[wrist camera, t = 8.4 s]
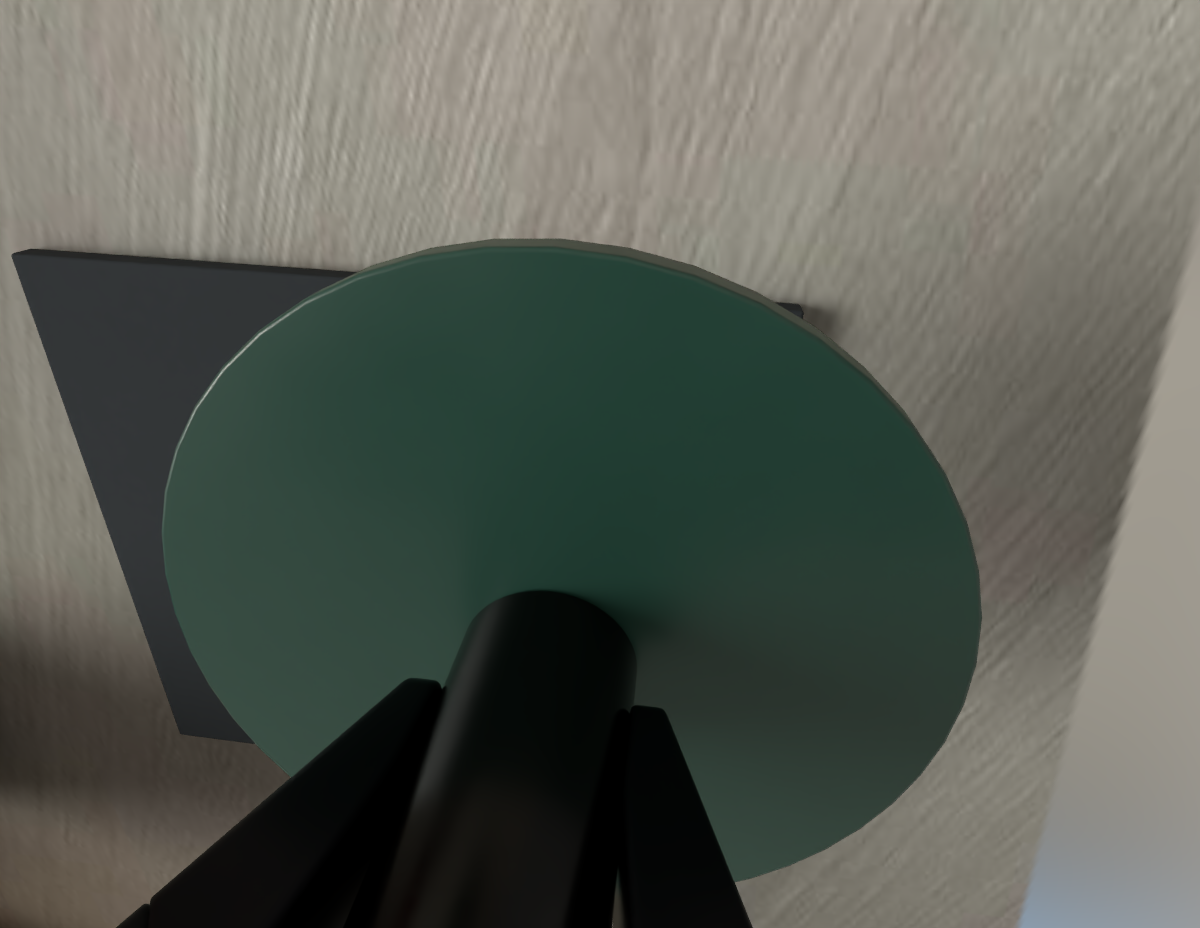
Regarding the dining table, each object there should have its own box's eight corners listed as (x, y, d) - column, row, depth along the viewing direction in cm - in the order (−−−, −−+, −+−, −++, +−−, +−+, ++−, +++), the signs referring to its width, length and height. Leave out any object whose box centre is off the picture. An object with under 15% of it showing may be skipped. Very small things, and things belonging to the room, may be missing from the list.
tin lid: (1080, 259, 8) (1797, 592, 3) (857, 874, 13) (957, 1362, 8) (116, 197, 8) (-681, 358, 4) (280, 794, 14) (50, 1189, 9)
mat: (800, 303, 15) (804, 311, 15) (713, 788, 23) (713, 804, 22) (30, 248, 17) (9, 253, 16) (190, 720, 24) (179, 734, 24)
